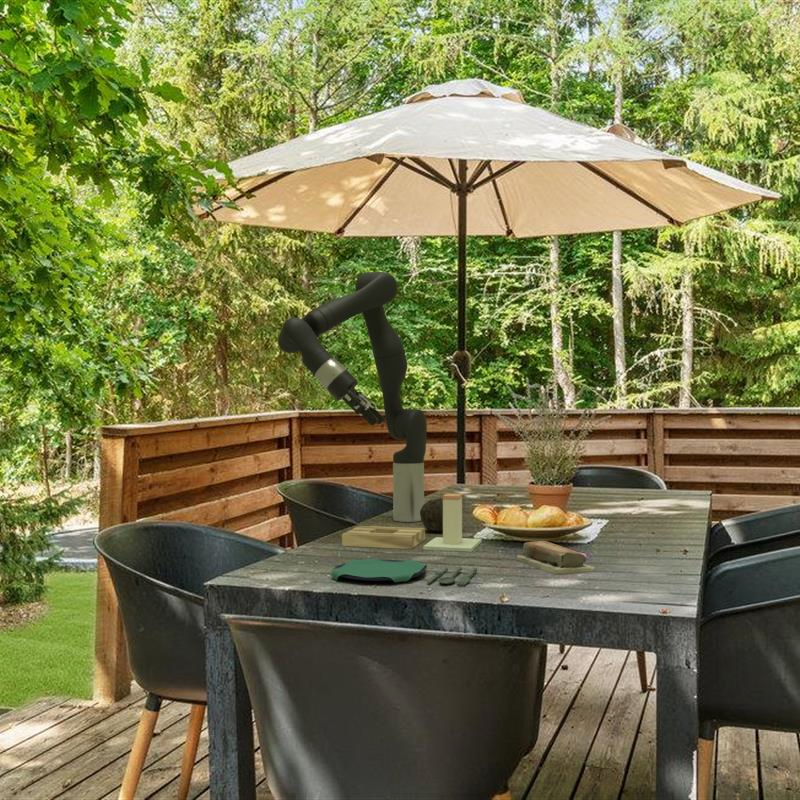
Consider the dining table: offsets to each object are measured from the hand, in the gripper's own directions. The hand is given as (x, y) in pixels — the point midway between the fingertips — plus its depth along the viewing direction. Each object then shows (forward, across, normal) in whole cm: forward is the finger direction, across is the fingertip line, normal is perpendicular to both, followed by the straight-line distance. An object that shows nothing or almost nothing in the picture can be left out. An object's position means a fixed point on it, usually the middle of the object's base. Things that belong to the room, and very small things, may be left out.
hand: (378, 422), depth 240 cm
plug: (+35, -6, +7) cm, 37 cm away
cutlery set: (+32, -45, +12) cm, 56 cm away
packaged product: (+54, -28, -10) cm, 62 cm away
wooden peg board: (+23, -5, +20) cm, 31 cm away
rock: (+32, +16, +12) cm, 37 cm away
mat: (+36, -6, +7) cm, 37 cm away
